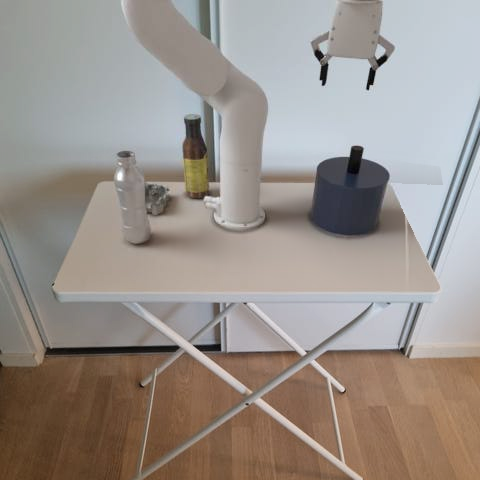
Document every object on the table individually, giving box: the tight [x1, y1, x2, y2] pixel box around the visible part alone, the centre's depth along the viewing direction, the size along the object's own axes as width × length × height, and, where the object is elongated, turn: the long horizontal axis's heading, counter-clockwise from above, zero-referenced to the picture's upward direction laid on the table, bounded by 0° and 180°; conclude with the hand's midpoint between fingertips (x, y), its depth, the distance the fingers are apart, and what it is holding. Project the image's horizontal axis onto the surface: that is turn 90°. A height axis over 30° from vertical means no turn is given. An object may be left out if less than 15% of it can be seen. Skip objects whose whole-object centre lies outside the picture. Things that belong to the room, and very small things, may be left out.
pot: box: [310, 172, 388, 236], centre depth 111 cm, size 16×16×12 cm
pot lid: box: [315, 145, 391, 191], centre depth 105 cm, size 17×17×7 cm
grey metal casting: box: [145, 182, 170, 216], centre depth 117 cm, size 11×8×4 cm
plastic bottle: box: [113, 150, 152, 244], centre depth 99 cm, size 6×7×20 cm
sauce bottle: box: [181, 113, 210, 199], centre depth 116 cm, size 7×6×20 cm
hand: (345, 86), depth 102 cm, fingers open, 9 cm apart
